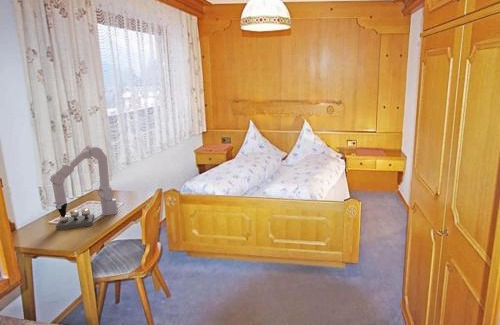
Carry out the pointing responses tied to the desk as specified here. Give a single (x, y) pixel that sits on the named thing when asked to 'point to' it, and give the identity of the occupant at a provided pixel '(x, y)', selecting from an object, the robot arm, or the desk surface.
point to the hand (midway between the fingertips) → (63, 216)
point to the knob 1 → (64, 219)
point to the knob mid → (74, 214)
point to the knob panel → (76, 222)
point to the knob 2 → (85, 212)
